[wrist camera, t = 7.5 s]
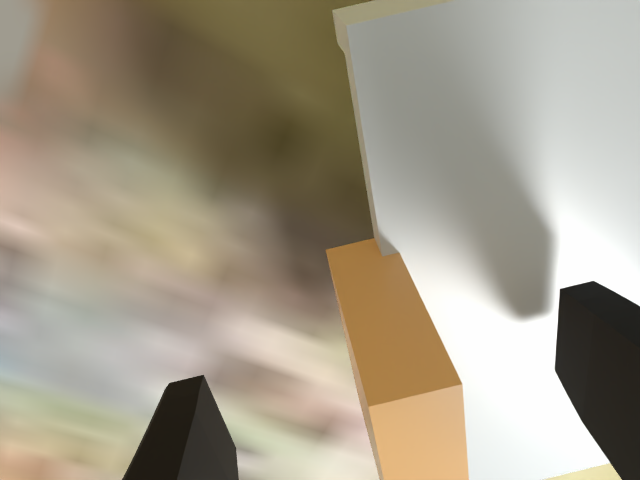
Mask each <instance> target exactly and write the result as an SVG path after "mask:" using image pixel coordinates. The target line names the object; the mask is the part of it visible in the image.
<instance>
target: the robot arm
mask: <svg viewBox="0 0 640 480" xmlns="http://www.w3.org/2000/svg"><path fill="white" fill-rule="evenodd" d="M554 370H555V372H556V374H557V376H558V378H559V380H560V382H561V384H562V386H563V388H564V390H565V392H566V393H567V395H568V397H569V399H570V401H571V403H572V405H573V406H574V408H575V410H576V412H577V414H578V415H579V417H580V419H581V421H582V423H583V424H584V425H585V427H586V428H587V430H588V431H589V433H590V434H591V436H592V437H593V439H594V440H595V442H596V443H597V444H598V446H599V447H600V449H601V450H602V452H603V453H604V454H605V456H606V457H607V459H608V460H609V462H610V463H611V465H612V466H613V467H614V469H615V470H616V472H617V473H618V475H619V476H620V477H621V479H622V480H640V306H639V305H637V304H636V303H634V302H632V301H630V300H628V299H627V298H625V297H623V296H621V295H620V294H618V293H616V292H614V291H612V290H610V289H609V288H607V287H605V286H603V285H601V284H599V283H597V282H595V281H590V282H586V283H581V284H577V285H573V286H569V287H565V288H561V289H560V294H559V309H558V324H557V339H556V354H555V369H554ZM122 480H239V478H238V467H237V455H236V447H235V445H234V443H233V440H232V438H231V436H230V434H229V431H228V429H227V427H226V424H225V422H224V420H223V418H222V415H221V413H220V411H219V409H218V406H217V404H216V402H215V400H214V397H213V395H212V393H211V391H210V388H209V386H208V384H207V381H206V379H205V377H204V375H201V376H197V377H193V378H189V379H184V380H180V381H176V382H172V383H169V384H168V386H167V387H166V389H165V391H164V393H163V395H162V397H161V399H160V402H159V404H158V406H157V408H156V410H155V413H154V415H153V417H152V419H151V421H150V424H149V426H148V428H147V430H146V432H145V434H144V436H143V439H142V441H141V443H140V445H139V447H138V449H137V451H136V453H135V455H134V457H133V459H132V461H131V463H130V465H129V467H128V469H127V471H126V473H125V475H124V477H123V479H122Z"/></svg>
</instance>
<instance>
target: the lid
mask: <svg viewBox="0 0 640 480" xmlns="http://www.w3.org/2000/svg"><path fill="white" fill-rule="evenodd" d="M332 13H333V19H334V25H335V31H336V37H337V43H338V45H339V46H340V48H341V49H342V50H343V52H344V53H345V59H346V66H347V72H348V78H349V84H350V90H351V96H352V103H353V109H354V115H355V121H356V127H357V133H358V140H359V146H360V152H361V158H362V164H363V171H364V177H365V183H366V189H367V195H368V201H369V208H370V214H371V220H372V226H373V232H374V238H372V239H368V240H364V241H360V242H356V243H351V244H347V245H343V246H339V247H335V248H331V249H326V254H327V258H328V263H329V267H330V272H331V276H332V281H333V285H334V290H335V294H336V298H337V303H338V307H339V312H340V316H341V321H342V325H343V330H344V334H345V339H346V343H347V348H348V352H349V356H350V361H351V365H352V370H353V374H354V379H355V383H356V388H357V392H358V397H359V401H360V404H361V408H362V412H363V416H364V420H365V424H366V428H367V432H368V435H369V439H370V443H371V447H372V451H373V455H374V459H375V463H376V466H377V470H378V474H379V478H380V480H543V479H547V478H551V477H555V476H559V475H563V474H567V473H571V472H575V471H579V470H583V469H587V468H591V467H595V466H600V465H604V464H608V463H610V462H609V460H608V459H607V457H606V456H605V454H604V453H603V452H602V450H601V449H600V447H599V446H598V444H597V443H596V442H595V440H594V439H593V437H592V436H591V434H590V433H589V431H588V430H587V428H586V427H585V425H584V424H583V423H582V421H581V419H580V417H579V415H578V414H577V412H576V410H575V408H574V406H573V405H572V403H571V401H570V399H569V397H568V395H567V393H566V392H565V390H564V388H563V386H562V384H561V382H560V380H559V378H558V376H557V374H556V372H555V370H554V369H555V354H556V339H557V324H558V309H559V294H560V289H561V288H565V287H569V286H573V285H577V284H581V283H586V282H590V281H595V282H597V283H599V284H601V285H603V286H605V287H607V288H609V289H610V290H612V291H614V292H616V293H618V294H620V295H621V296H623V297H625V298H627V299H628V300H630V301H632V302H634V303H636V304H637V305H639V306H640V0H374V1H369V2H365V3H361V4H356V5H352V6H348V7H343V8H339V9H335V10H332Z"/></svg>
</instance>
